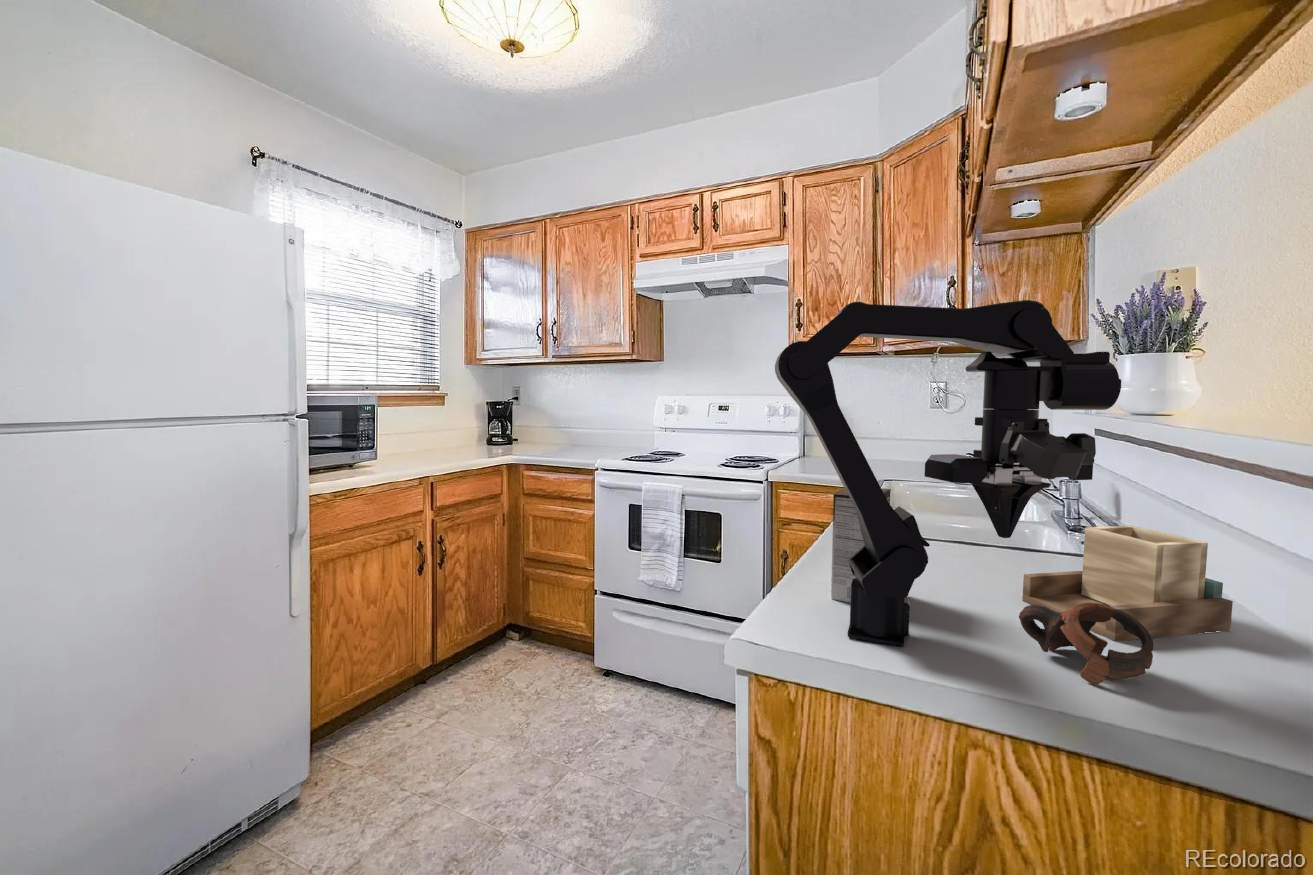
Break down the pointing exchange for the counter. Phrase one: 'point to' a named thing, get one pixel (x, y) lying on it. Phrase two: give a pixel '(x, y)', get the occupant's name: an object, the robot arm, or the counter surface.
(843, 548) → the coffee box
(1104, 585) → the crate
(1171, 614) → the bay
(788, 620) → the counter surface
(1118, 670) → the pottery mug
